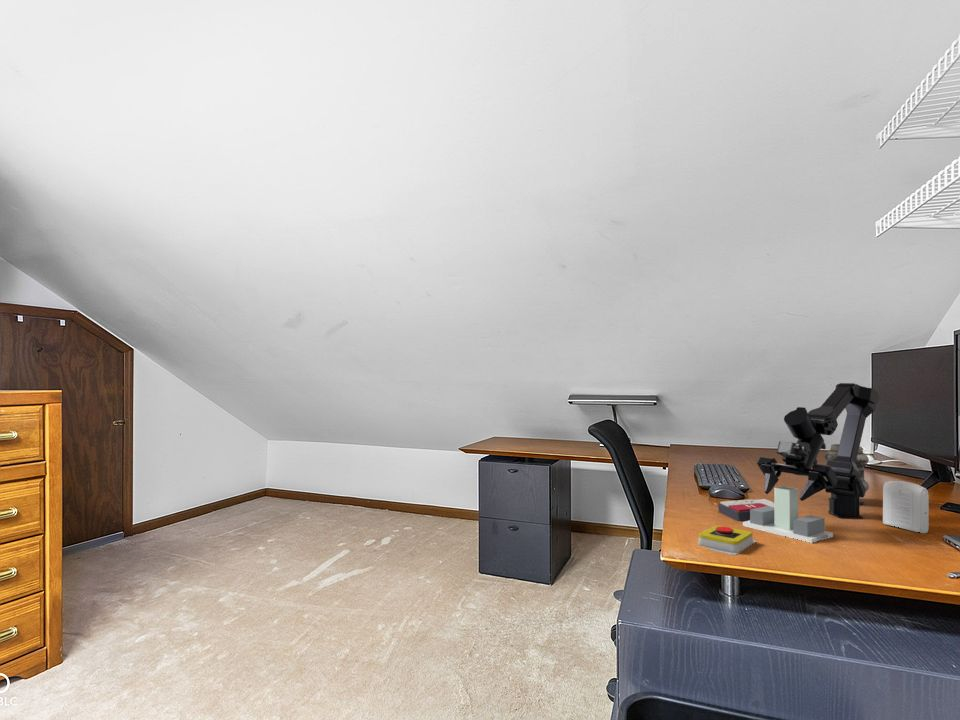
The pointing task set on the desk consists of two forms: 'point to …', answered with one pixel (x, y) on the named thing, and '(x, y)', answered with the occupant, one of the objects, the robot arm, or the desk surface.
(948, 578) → the desk surface
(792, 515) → the block
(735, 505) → the calculator
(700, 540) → the emergency button
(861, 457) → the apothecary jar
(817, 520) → the rail board
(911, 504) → the white rounded upright block
